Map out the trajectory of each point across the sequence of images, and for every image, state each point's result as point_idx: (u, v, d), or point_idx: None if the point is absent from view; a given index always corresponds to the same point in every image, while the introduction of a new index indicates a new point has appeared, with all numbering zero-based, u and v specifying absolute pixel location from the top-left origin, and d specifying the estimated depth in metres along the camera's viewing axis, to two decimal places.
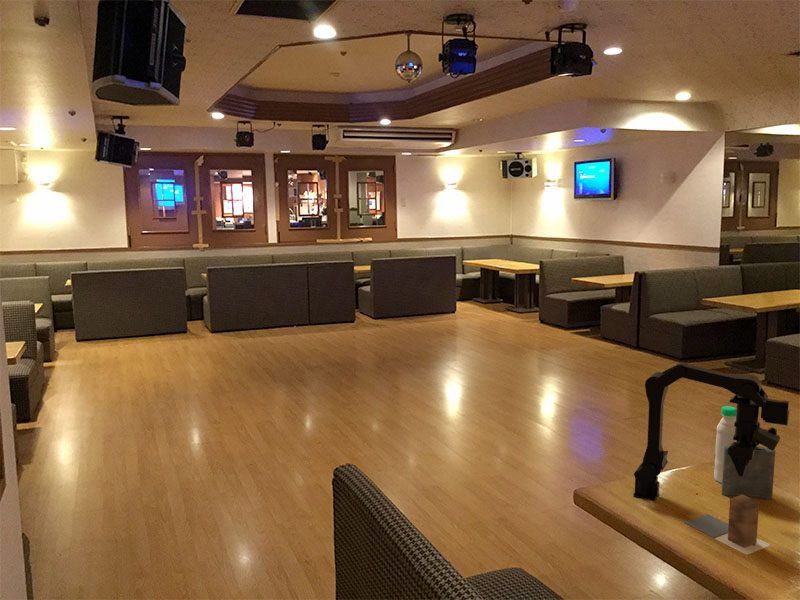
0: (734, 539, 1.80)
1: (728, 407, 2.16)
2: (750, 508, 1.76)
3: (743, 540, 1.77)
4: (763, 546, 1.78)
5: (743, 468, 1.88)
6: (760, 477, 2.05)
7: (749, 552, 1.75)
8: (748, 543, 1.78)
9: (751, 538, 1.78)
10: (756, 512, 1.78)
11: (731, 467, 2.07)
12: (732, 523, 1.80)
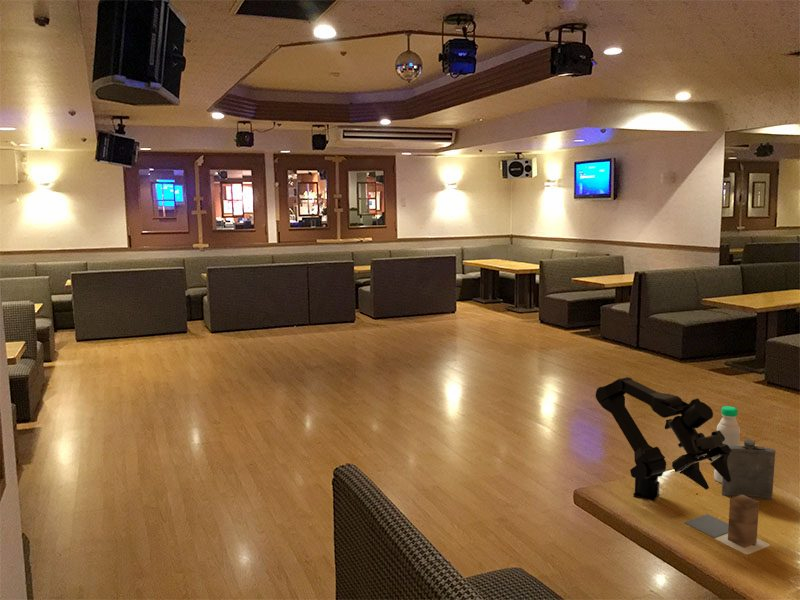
0: (734, 539, 1.80)
1: (728, 407, 2.16)
2: (750, 508, 1.76)
3: (743, 540, 1.77)
4: (763, 546, 1.78)
5: (701, 479, 1.84)
6: (760, 477, 2.05)
7: (749, 552, 1.75)
8: (748, 543, 1.78)
9: (751, 538, 1.78)
10: (756, 512, 1.78)
11: (731, 467, 2.07)
12: (732, 523, 1.80)
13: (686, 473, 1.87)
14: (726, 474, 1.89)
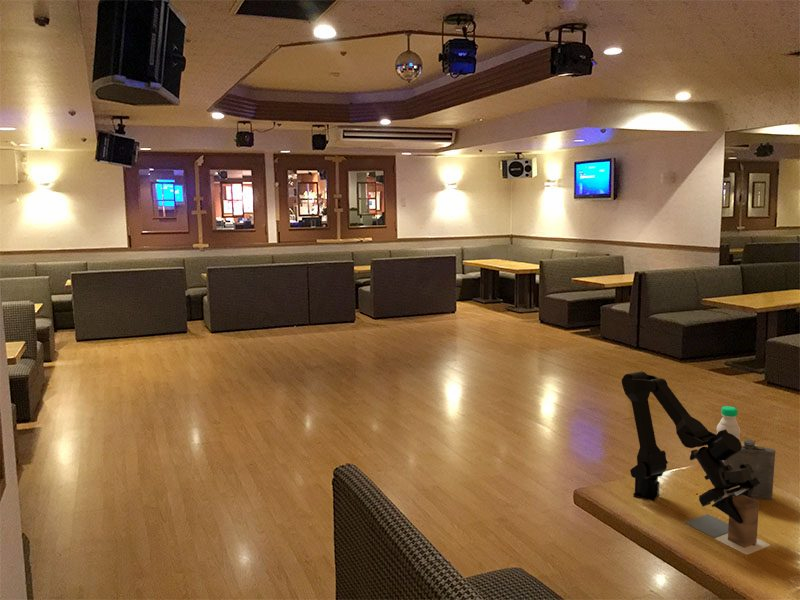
0: (734, 539, 1.80)
1: (728, 407, 2.16)
2: (750, 508, 1.76)
3: (743, 540, 1.77)
4: (763, 546, 1.78)
5: (735, 513, 1.78)
6: (760, 477, 2.05)
7: (749, 552, 1.75)
8: (748, 543, 1.78)
9: (751, 538, 1.78)
10: (756, 512, 1.78)
11: None
12: (732, 523, 1.80)
13: (718, 506, 1.81)
14: None
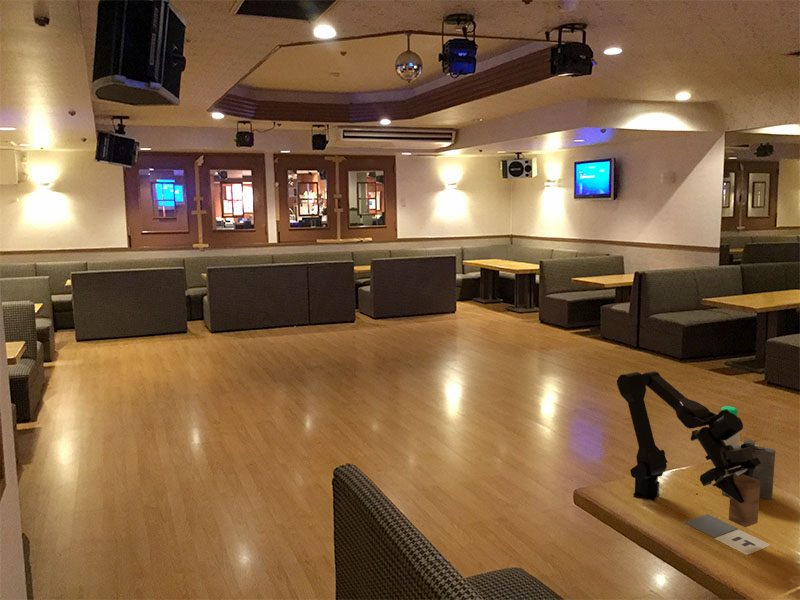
0: (735, 519, 1.79)
1: (728, 407, 2.16)
2: (751, 488, 1.76)
3: (744, 519, 1.77)
4: (763, 546, 1.78)
5: (736, 492, 1.77)
6: (760, 477, 2.05)
7: (749, 552, 1.75)
8: (749, 523, 1.77)
9: (752, 517, 1.77)
10: (757, 492, 1.77)
11: None
12: (733, 503, 1.79)
13: (719, 486, 1.80)
14: None
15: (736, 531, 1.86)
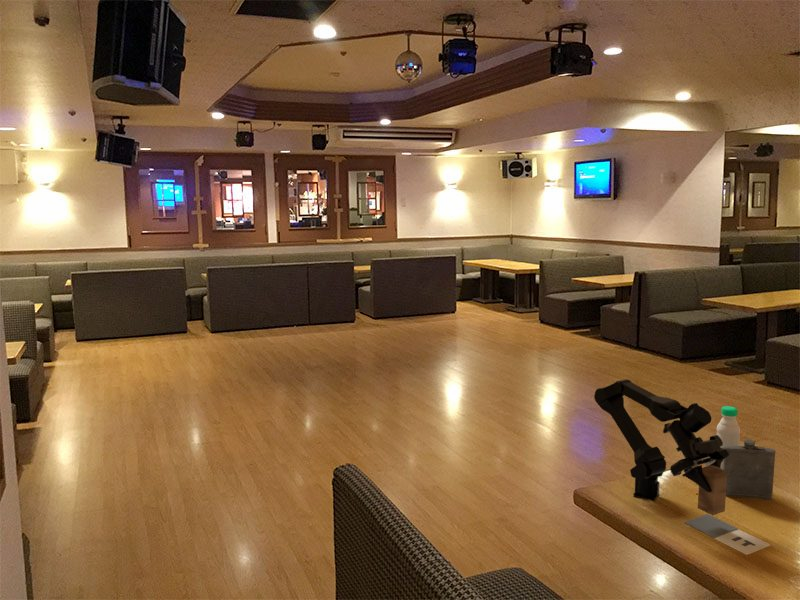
0: (703, 507, 1.88)
1: (728, 407, 2.16)
2: (718, 478, 1.84)
3: (712, 507, 1.85)
4: (763, 546, 1.78)
5: (704, 482, 1.86)
6: (760, 477, 2.05)
7: (749, 552, 1.75)
8: (716, 511, 1.86)
9: (719, 506, 1.86)
10: (724, 481, 1.86)
11: (731, 467, 2.07)
12: (702, 492, 1.88)
13: (689, 476, 1.89)
14: None
15: (736, 531, 1.86)
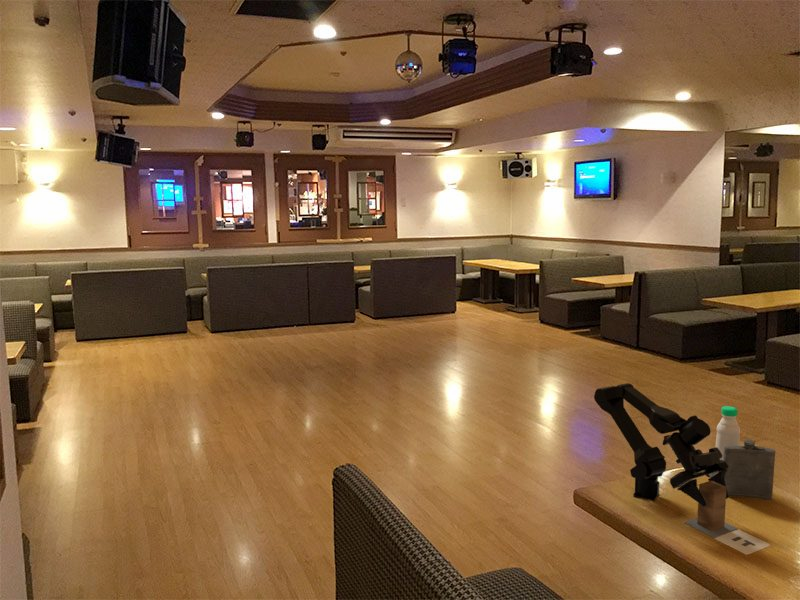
0: (703, 523, 1.89)
1: (728, 407, 2.16)
2: (717, 493, 1.85)
3: (711, 523, 1.86)
4: (763, 546, 1.78)
5: (699, 496, 1.85)
6: (760, 477, 2.05)
7: (749, 552, 1.75)
8: (716, 527, 1.87)
9: (719, 521, 1.87)
10: (724, 497, 1.87)
11: (731, 467, 2.07)
12: (701, 508, 1.89)
13: (684, 490, 1.89)
14: None
15: (736, 531, 1.86)
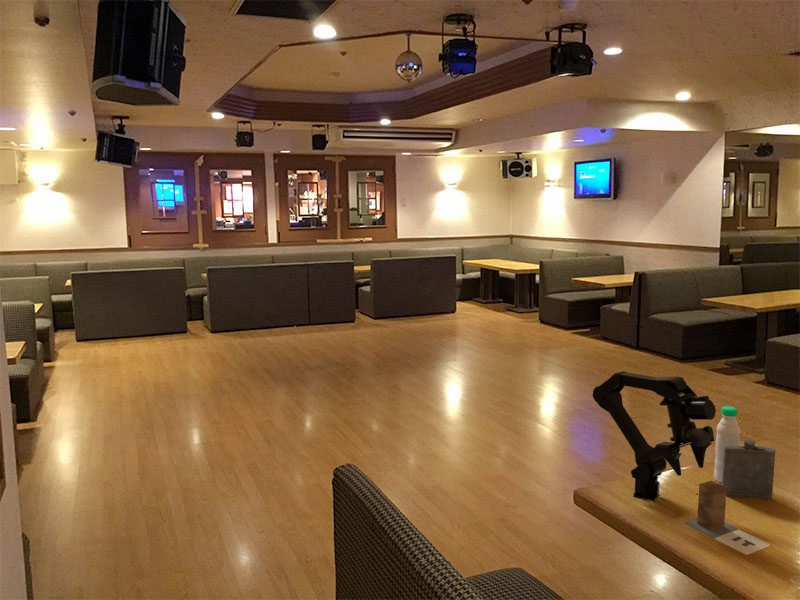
0: (703, 523, 1.89)
1: (728, 407, 2.16)
2: (717, 493, 1.85)
3: (711, 523, 1.86)
4: (763, 546, 1.78)
5: (677, 467, 1.94)
6: (760, 477, 2.05)
7: (749, 552, 1.75)
8: (716, 527, 1.87)
9: (719, 521, 1.87)
10: (724, 497, 1.87)
11: (731, 467, 2.07)
12: (701, 508, 1.89)
13: (665, 456, 1.96)
14: (700, 461, 1.99)
15: (736, 531, 1.86)
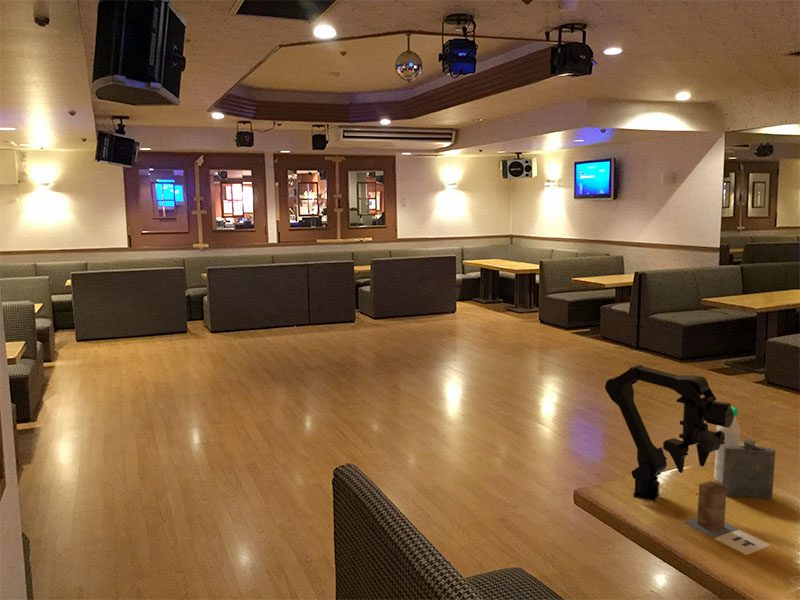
0: (703, 523, 1.89)
1: None
2: (717, 493, 1.85)
3: (711, 523, 1.86)
4: (763, 546, 1.78)
5: (681, 465, 1.94)
6: (760, 477, 2.05)
7: (749, 552, 1.75)
8: (716, 527, 1.87)
9: (719, 521, 1.87)
10: (724, 497, 1.87)
11: (731, 467, 2.07)
12: (701, 508, 1.89)
13: (671, 452, 1.96)
14: (703, 460, 1.99)
15: (736, 531, 1.86)
